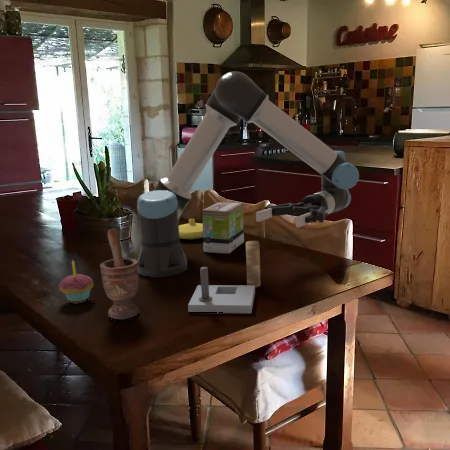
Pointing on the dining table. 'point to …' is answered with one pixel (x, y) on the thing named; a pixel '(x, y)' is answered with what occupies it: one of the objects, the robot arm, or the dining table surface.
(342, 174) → the robot arm
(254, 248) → the dowel
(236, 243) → the tea box
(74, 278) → the cupcake
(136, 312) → the mortar and pestle
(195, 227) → the yellow pot lid
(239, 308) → the board
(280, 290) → the dining table surface
